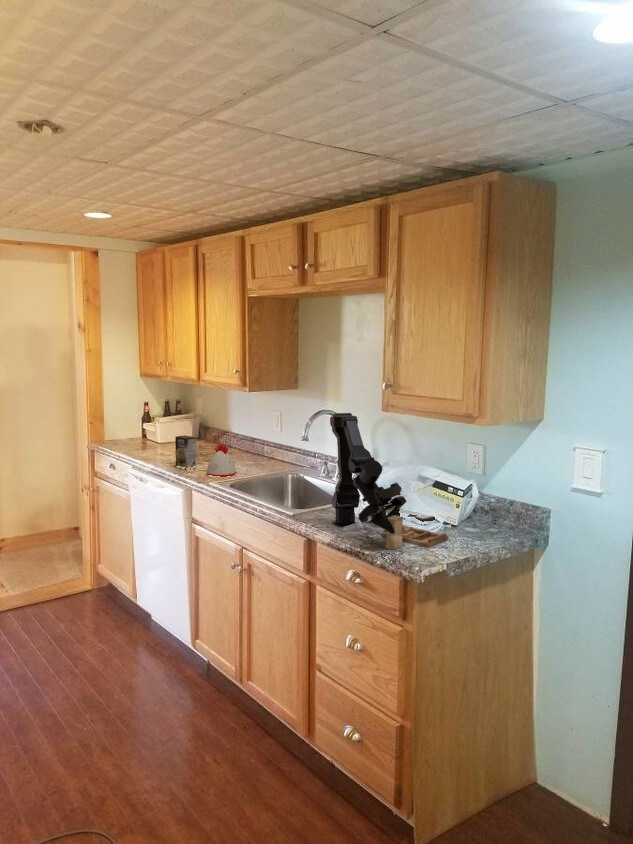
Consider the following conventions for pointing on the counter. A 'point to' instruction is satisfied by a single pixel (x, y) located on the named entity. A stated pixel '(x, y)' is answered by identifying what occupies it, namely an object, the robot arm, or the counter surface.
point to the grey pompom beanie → (221, 463)
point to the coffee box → (185, 451)
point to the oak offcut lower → (409, 534)
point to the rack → (422, 538)
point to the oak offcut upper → (406, 529)
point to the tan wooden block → (395, 539)
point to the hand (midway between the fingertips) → (398, 531)
